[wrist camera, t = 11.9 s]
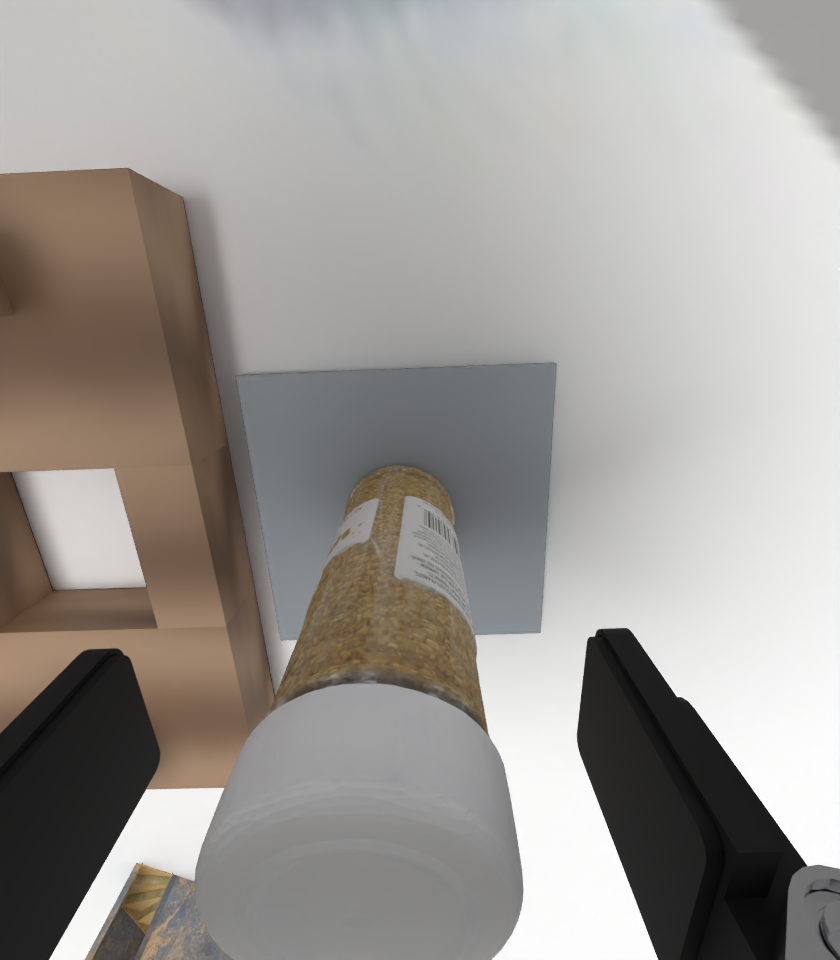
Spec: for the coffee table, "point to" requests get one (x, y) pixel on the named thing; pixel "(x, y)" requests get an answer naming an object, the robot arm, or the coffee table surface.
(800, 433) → the coffee table surface
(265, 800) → the sprinkles bottle
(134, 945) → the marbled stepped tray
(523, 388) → the pad
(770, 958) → the robot arm
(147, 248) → the wooden peg board
